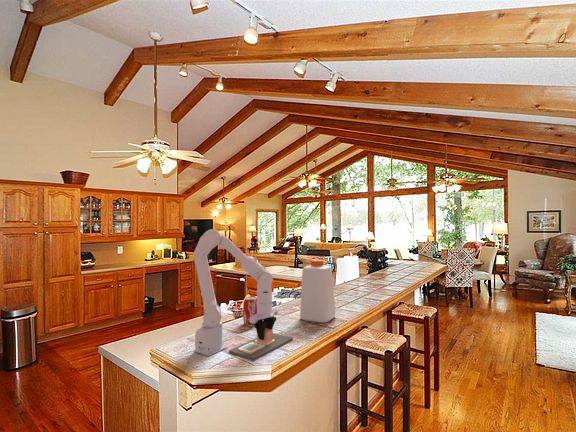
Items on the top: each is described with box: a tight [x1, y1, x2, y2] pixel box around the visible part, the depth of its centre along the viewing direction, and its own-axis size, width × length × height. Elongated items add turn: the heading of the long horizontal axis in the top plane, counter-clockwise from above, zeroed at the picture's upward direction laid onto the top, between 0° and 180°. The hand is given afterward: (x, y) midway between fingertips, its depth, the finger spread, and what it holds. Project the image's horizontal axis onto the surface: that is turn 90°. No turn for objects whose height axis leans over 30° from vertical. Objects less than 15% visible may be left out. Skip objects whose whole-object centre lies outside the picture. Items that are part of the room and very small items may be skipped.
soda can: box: [242, 296, 257, 327], centre depth 146 cm, size 7×7×12 cm
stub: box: [255, 328, 275, 345], centre depth 121 cm, size 5×6×5 cm
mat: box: [228, 332, 294, 361], centre depth 119 cm, size 23×12×1 cm, turn 145°
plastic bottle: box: [299, 259, 336, 324], centre depth 155 cm, size 15×15×28 cm
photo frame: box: [238, 342, 265, 354], centre depth 115 cm, size 8×6×1 cm
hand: (264, 337), depth 121 cm, fingers closed on stub, 3 cm apart
